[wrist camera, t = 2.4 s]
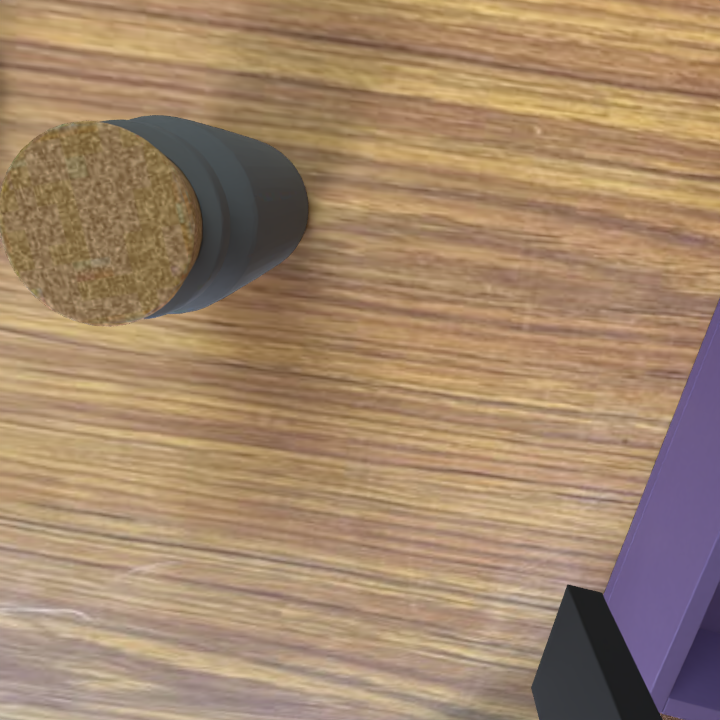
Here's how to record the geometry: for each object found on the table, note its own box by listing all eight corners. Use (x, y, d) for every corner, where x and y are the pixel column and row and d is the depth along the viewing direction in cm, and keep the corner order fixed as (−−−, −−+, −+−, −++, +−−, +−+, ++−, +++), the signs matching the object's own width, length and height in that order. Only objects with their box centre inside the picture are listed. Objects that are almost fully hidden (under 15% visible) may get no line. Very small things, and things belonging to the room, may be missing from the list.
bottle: (318, 150, 29) (231, 116, 15) (299, 283, 31) (203, 369, 16) (186, 127, 30) (-27, 72, 15) (173, 260, 31) (-32, 327, 17)
